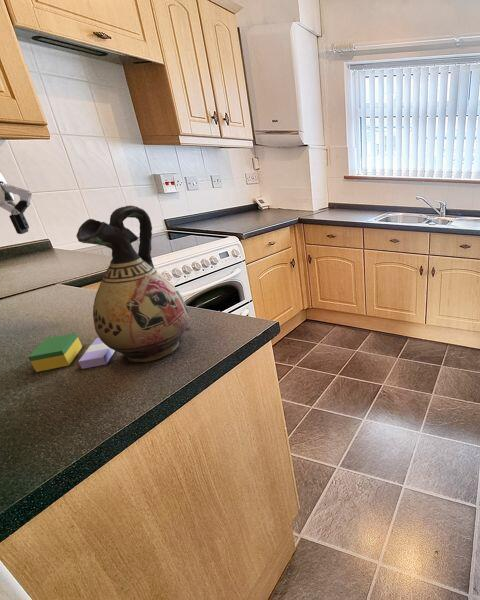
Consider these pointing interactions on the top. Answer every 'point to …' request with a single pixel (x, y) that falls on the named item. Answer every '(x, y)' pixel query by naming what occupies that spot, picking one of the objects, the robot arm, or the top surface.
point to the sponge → (55, 352)
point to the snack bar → (96, 355)
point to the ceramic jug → (134, 292)
